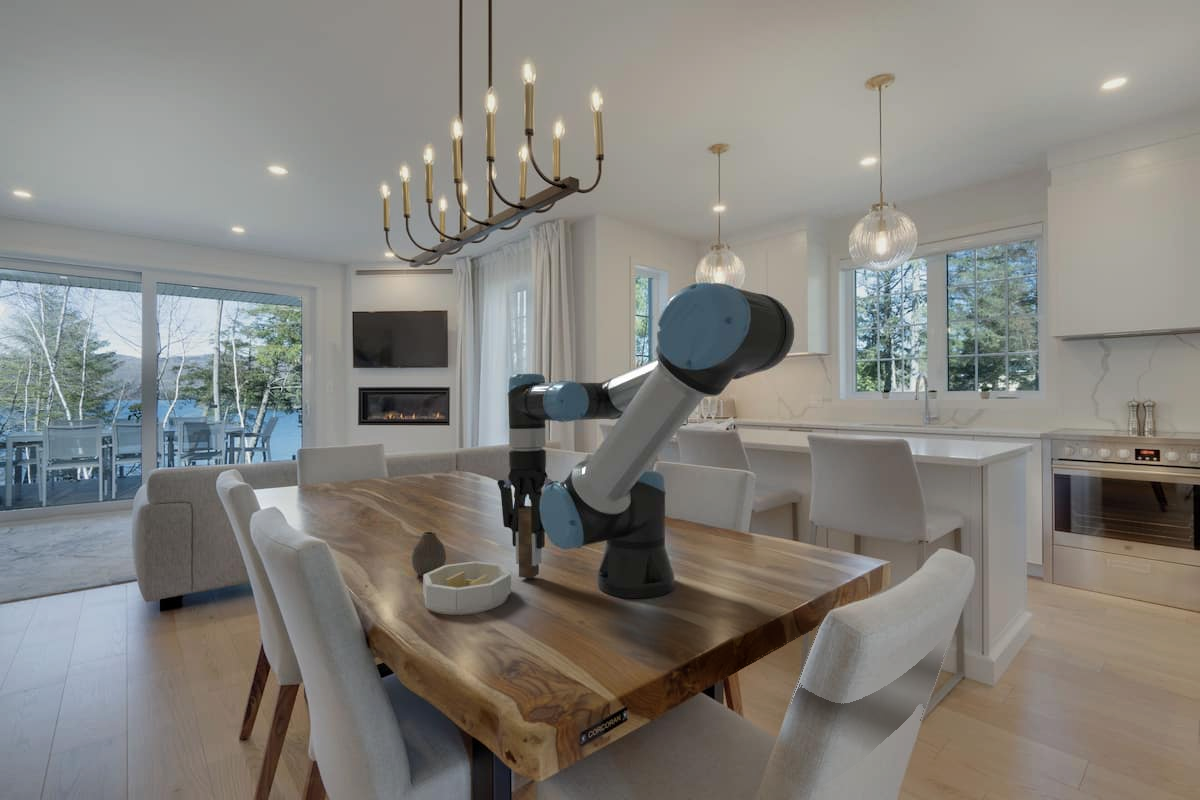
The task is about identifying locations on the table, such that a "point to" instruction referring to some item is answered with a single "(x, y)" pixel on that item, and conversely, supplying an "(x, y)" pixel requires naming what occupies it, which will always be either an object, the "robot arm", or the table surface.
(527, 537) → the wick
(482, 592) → the white octagonal bowl
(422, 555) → the vase
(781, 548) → the table surface
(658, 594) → the robot arm
